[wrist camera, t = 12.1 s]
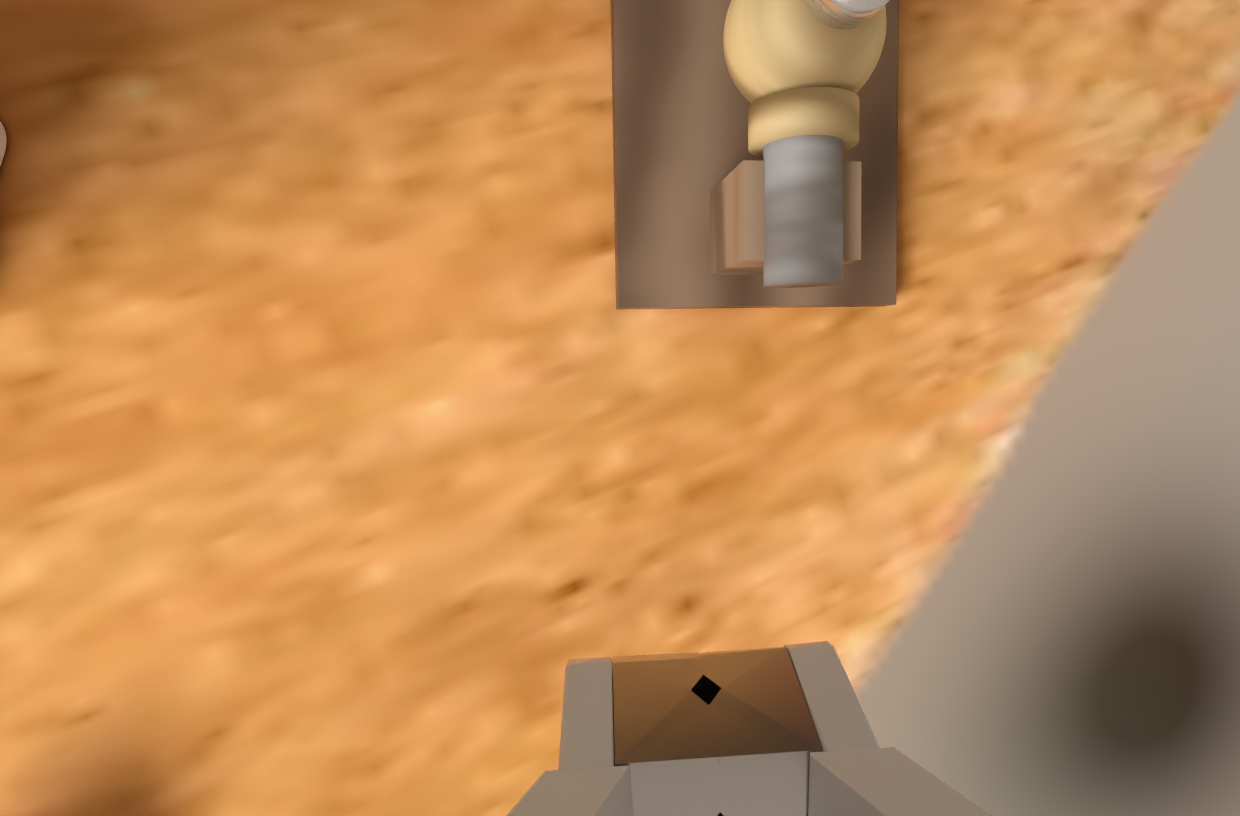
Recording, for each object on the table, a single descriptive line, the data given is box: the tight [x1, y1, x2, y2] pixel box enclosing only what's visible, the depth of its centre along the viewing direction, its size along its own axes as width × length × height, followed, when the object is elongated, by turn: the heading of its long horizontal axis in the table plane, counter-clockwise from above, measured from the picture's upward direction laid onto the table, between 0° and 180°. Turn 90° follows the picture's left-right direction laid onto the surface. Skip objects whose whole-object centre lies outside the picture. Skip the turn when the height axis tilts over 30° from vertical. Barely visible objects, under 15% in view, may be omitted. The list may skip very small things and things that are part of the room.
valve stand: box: [611, 0, 899, 309], centre depth 32 cm, size 14×21×11 cm, turn 1°
